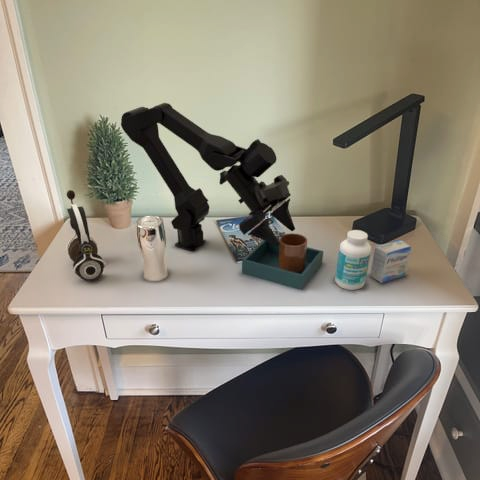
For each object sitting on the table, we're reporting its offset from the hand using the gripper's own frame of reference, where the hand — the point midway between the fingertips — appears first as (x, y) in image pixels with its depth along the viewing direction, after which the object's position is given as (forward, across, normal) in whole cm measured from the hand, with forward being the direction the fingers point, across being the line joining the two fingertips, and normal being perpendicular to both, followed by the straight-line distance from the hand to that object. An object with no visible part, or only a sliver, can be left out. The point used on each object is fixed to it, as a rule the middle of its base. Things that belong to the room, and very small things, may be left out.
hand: (286, 237), depth 124 cm
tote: (+6, 0, +7) cm, 9 cm away
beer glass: (-13, -18, +26) cm, 35 cm away
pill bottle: (+19, +2, -5) cm, 20 cm away
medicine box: (+24, +9, -10) cm, 28 cm away
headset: (-25, -24, +38) cm, 52 cm away
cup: (+8, 0, +5) cm, 9 cm away
